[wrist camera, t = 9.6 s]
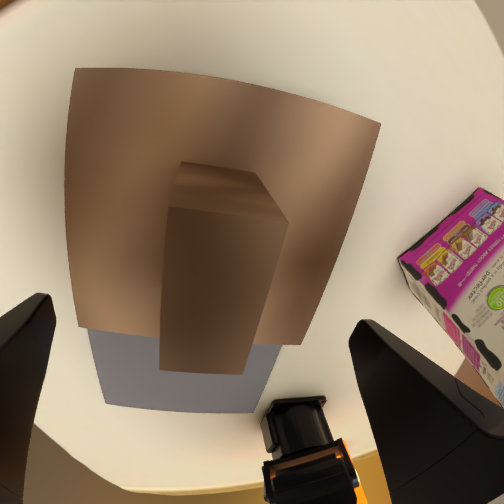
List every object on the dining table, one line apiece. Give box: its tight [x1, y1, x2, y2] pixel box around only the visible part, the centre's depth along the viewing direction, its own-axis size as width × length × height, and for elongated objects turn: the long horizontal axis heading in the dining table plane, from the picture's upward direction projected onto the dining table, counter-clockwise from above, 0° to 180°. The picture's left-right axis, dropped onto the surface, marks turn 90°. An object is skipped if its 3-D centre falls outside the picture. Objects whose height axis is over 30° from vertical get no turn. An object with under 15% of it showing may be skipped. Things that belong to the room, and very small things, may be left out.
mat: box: [87, 328, 282, 413], centre depth 24 cm, size 16×16×1 cm
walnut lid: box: [65, 68, 381, 375], centre depth 11 cm, size 13×13×6 cm
